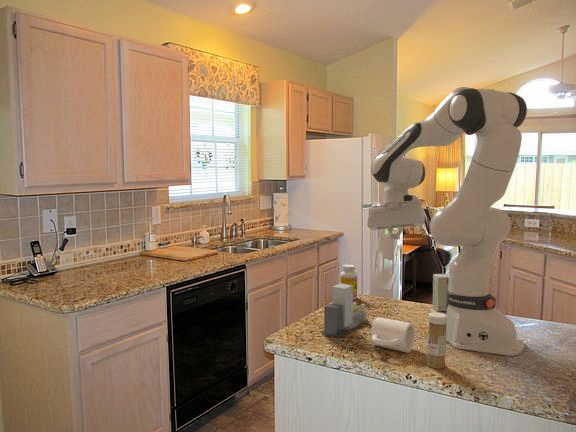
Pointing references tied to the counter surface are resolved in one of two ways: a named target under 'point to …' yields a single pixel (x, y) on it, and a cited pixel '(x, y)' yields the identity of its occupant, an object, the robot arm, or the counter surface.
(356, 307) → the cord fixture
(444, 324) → the sprinkles bottle
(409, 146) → the robot arm
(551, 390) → the counter surface
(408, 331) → the mug
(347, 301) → the box sleeve
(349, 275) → the supplement bottle
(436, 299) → the skincare box
